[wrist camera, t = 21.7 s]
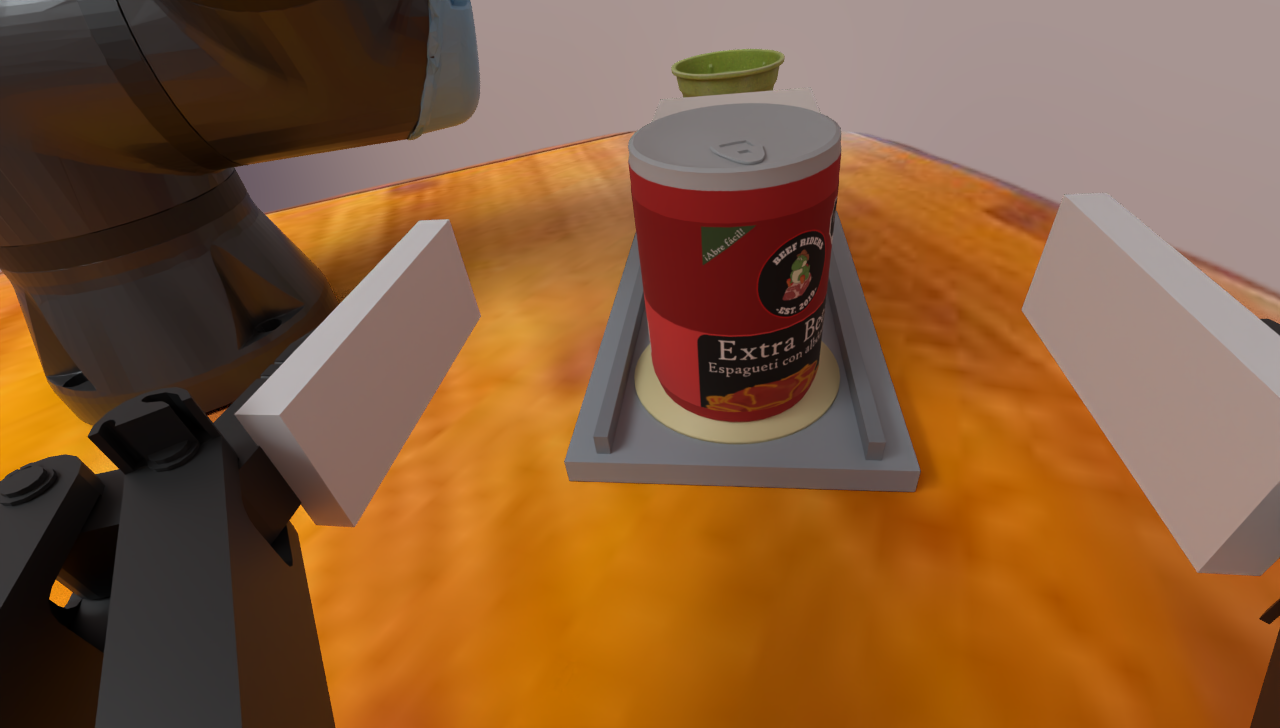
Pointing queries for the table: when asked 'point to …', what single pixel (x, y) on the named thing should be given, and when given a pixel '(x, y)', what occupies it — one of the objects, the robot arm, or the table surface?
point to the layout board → (756, 450)
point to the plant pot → (728, 72)
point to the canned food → (736, 252)
